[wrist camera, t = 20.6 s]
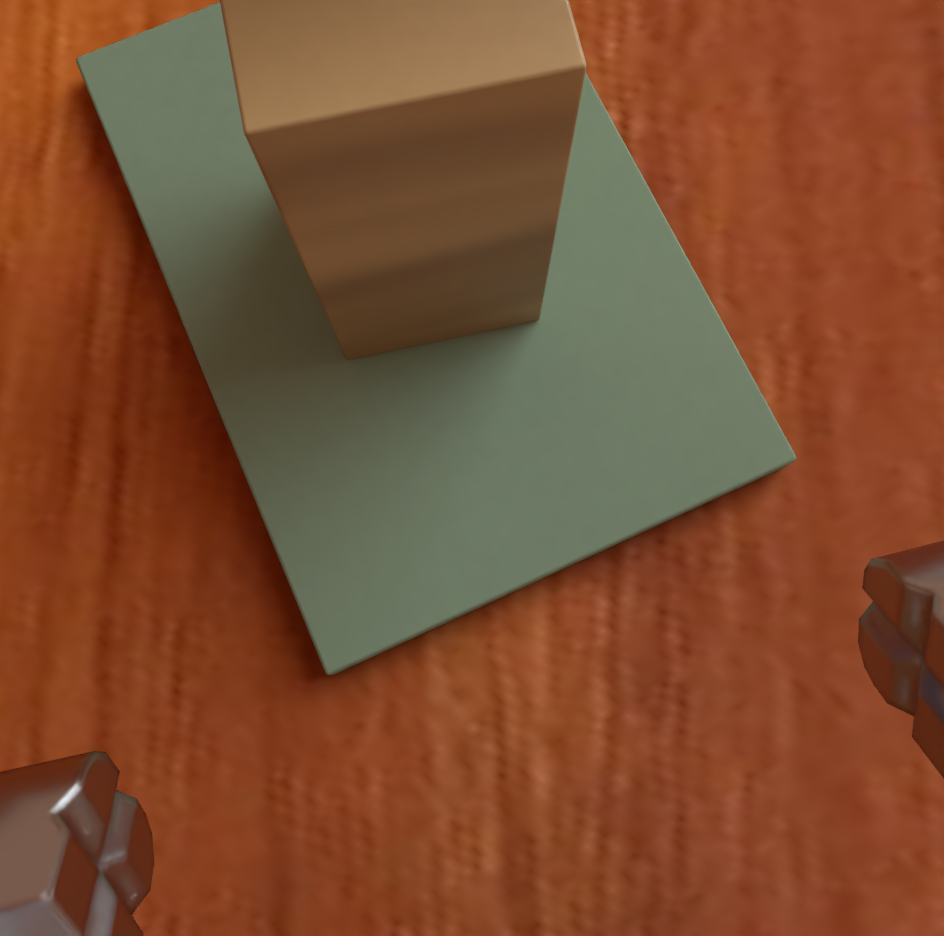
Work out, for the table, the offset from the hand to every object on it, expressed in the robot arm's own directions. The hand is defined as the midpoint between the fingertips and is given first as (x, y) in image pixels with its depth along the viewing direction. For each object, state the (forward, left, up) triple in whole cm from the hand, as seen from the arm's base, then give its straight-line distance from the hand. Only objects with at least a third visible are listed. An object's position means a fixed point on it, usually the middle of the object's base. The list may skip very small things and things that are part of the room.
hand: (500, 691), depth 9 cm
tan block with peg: (+8, -2, -5) cm, 10 cm away
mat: (+8, -2, -6) cm, 10 cm away
